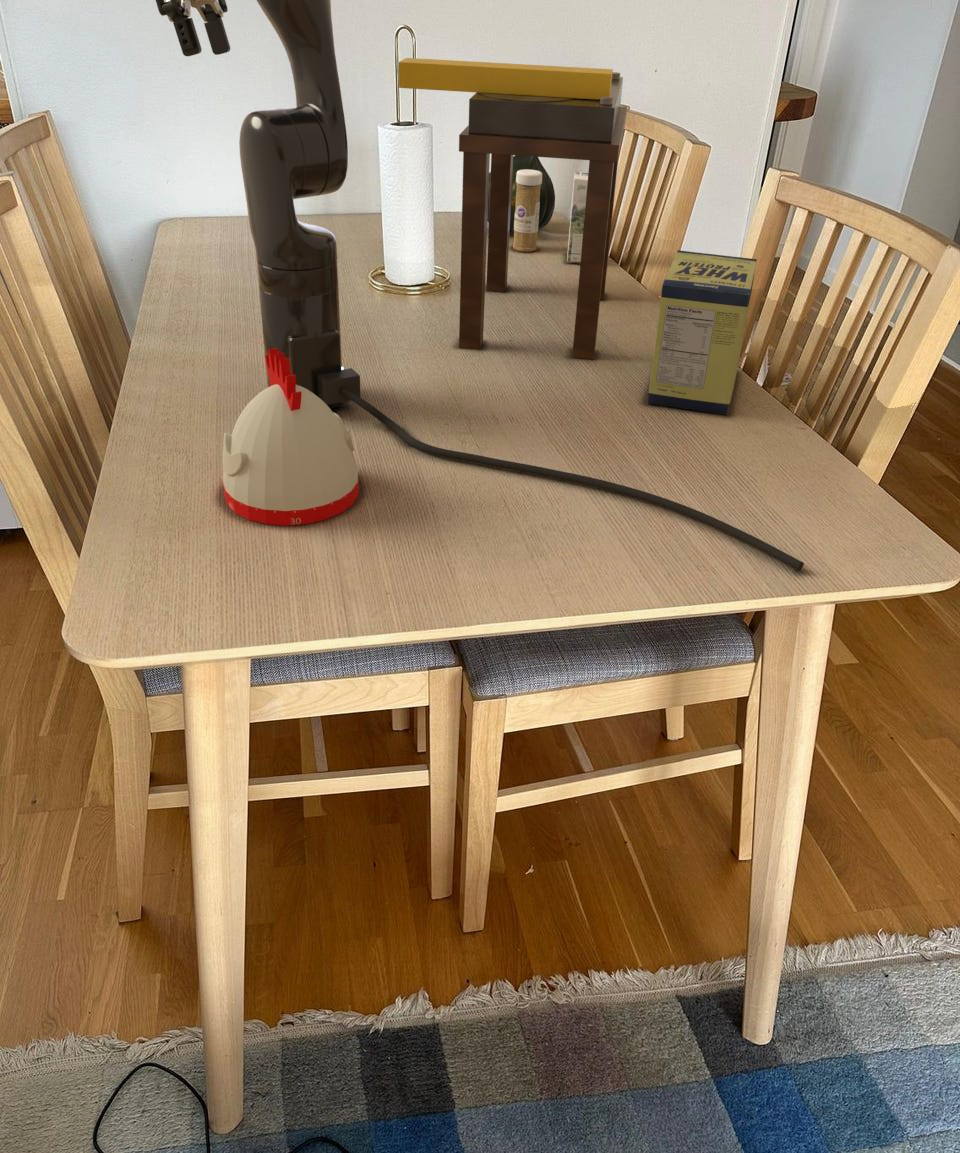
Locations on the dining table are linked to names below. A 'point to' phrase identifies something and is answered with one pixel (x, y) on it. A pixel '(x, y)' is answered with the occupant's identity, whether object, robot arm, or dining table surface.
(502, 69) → the yellow rectangular bar
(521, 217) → the sprinkles bottle
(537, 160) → the squash
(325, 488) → the kitchen timer
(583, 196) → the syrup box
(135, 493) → the dining table surface
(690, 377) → the protein box
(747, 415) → the dining table surface
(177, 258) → the dining table surface
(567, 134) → the hob stand
